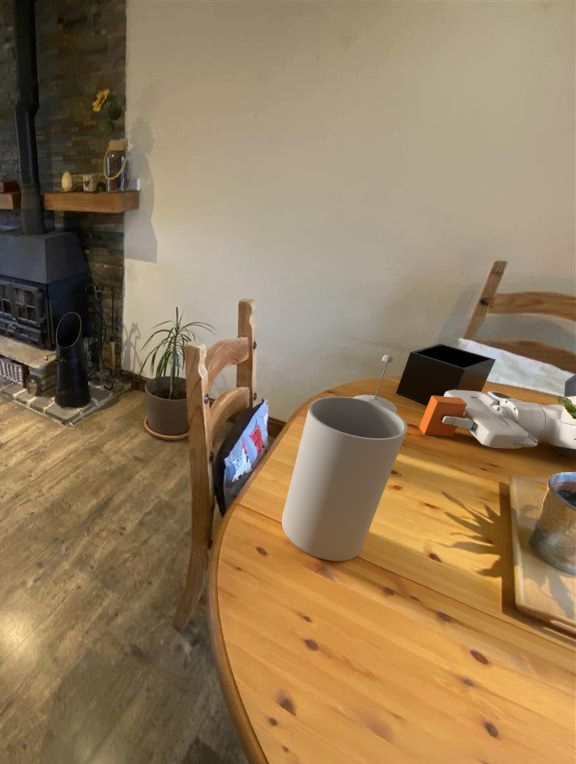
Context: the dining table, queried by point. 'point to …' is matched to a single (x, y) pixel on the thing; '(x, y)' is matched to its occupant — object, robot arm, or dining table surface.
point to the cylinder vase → (340, 475)
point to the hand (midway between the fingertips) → (438, 413)
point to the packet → (434, 413)
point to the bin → (442, 372)
